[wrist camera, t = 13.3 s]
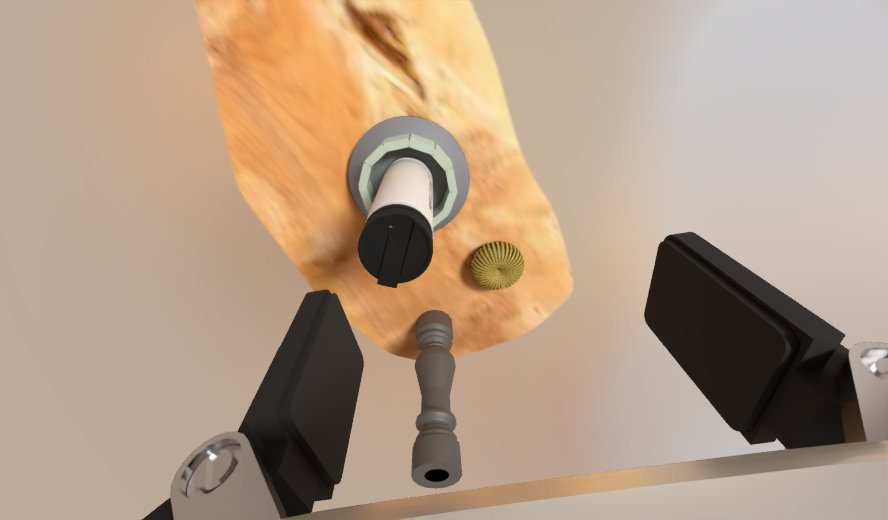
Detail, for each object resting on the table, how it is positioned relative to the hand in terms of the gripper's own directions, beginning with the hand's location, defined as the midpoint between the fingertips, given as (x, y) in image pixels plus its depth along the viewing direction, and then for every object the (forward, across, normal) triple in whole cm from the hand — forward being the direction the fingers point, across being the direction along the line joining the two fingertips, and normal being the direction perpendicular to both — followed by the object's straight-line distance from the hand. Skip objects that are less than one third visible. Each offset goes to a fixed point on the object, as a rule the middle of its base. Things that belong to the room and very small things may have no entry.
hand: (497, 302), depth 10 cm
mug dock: (+37, +6, +8) cm, 38 cm away
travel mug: (+36, +6, +7) cm, 37 cm away
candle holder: (+36, +7, +34) cm, 50 cm away
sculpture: (+37, -5, +22) cm, 43 cm away
